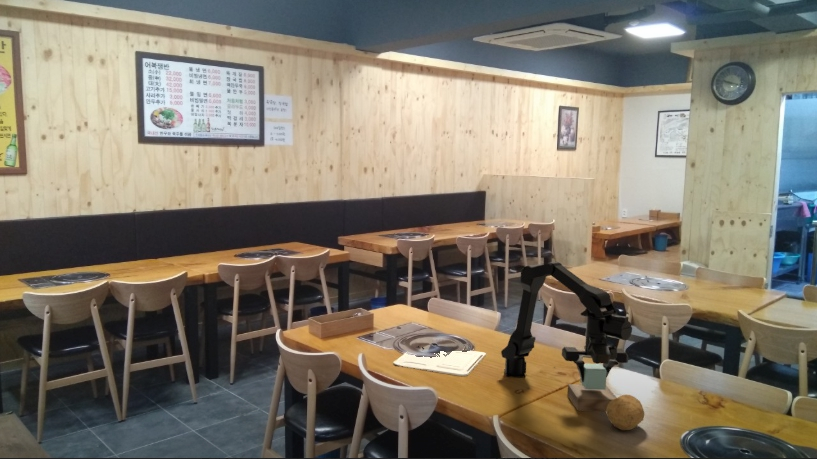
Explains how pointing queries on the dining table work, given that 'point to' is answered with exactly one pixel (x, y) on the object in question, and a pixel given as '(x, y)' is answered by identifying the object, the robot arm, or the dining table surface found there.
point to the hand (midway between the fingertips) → (592, 381)
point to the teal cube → (594, 376)
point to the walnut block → (589, 398)
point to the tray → (443, 362)
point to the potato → (625, 412)
